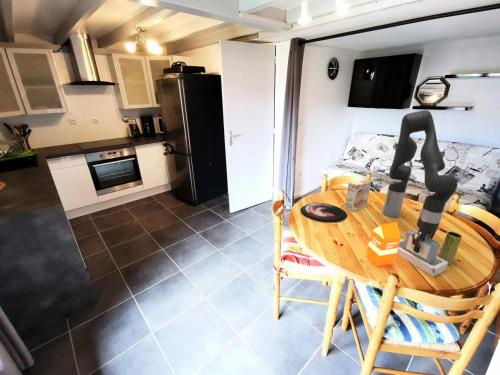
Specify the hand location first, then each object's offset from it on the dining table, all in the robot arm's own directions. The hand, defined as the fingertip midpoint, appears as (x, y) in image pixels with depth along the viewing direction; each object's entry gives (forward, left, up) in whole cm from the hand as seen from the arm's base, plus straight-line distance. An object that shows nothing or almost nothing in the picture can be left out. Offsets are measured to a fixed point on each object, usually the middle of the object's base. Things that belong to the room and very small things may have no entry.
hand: (419, 250), depth 108 cm
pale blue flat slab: (0, 0, -3) cm, 3 cm away
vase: (-12, +6, -6) cm, 15 cm away
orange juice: (+16, -8, -6) cm, 18 cm away
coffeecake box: (-18, -52, -6) cm, 55 cm away
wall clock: (+7, -56, -6) cm, 57 cm away
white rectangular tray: (0, 0, -5) cm, 5 cm away
